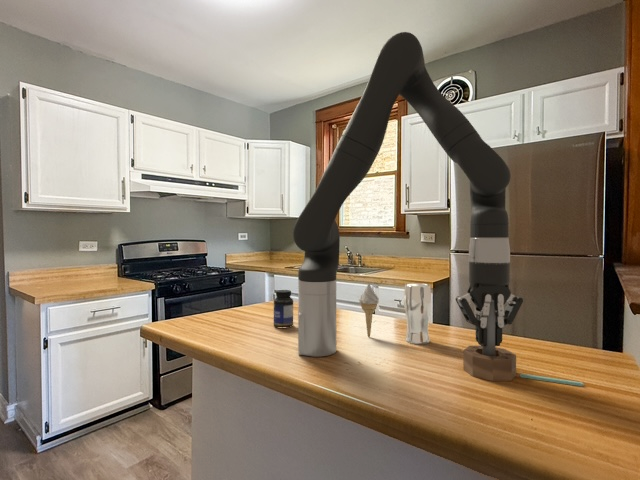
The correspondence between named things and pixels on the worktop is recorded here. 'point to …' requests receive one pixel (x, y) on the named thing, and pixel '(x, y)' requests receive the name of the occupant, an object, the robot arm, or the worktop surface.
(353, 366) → the worktop surface
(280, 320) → the pill bottle
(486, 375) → the bead
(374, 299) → the ice cream cone
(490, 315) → the grey rounded rod
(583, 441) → the worktop surface
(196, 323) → the worktop surface
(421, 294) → the beer glass
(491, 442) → the worktop surface
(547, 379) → the teal thin bar
